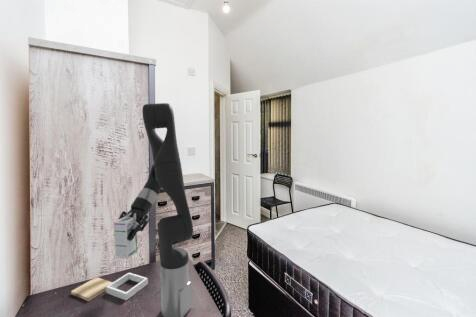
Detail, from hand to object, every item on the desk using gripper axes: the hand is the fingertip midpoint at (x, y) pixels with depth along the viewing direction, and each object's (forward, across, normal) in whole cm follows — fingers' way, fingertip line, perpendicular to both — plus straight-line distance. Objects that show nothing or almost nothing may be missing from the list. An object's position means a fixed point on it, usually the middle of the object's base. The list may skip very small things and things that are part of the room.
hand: (122, 238), depth 87 cm
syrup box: (+4, 0, +6) cm, 8 cm away
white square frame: (+14, 0, +16) cm, 21 cm away
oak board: (+18, -12, +12) cm, 25 cm away
